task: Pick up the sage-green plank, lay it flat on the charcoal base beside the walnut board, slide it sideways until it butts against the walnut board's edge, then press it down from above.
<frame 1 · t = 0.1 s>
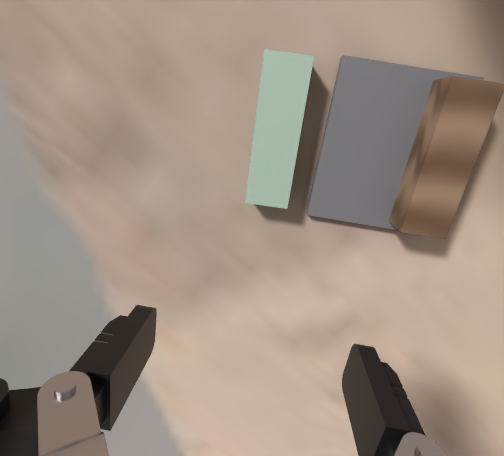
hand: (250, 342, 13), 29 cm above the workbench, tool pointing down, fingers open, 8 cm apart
plank: (276, 133, 38), on the workbench
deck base: (384, 151, 37), on the workbench
walnut board: (439, 161, 34), on the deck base, point 3 cm above the workbench
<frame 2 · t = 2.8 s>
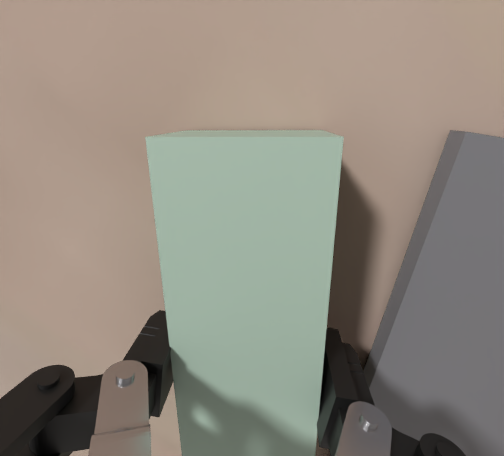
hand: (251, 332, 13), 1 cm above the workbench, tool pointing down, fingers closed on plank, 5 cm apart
plank: (254, 313, 14), on the workbench, touching gripper
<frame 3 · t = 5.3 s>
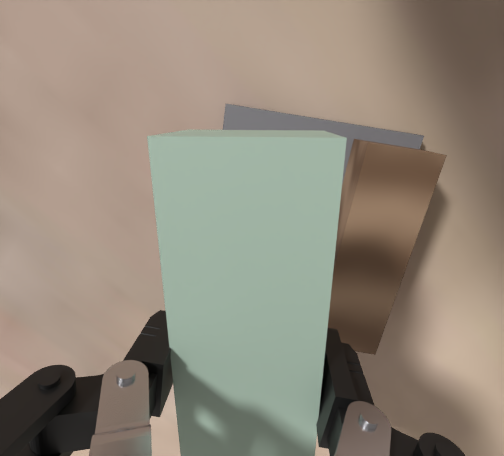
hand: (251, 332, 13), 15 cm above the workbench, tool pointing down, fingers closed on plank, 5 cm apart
plank: (254, 313, 14), point 14 cm above the workbench, touching gripper
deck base: (299, 226, 28), on the workbench
walnut board: (364, 250, 25), on the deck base, point 3 cm above the workbench
when the fingers open (3 cm above the workbench, at t = 8.0 s): plank stays where it is, resting on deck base.
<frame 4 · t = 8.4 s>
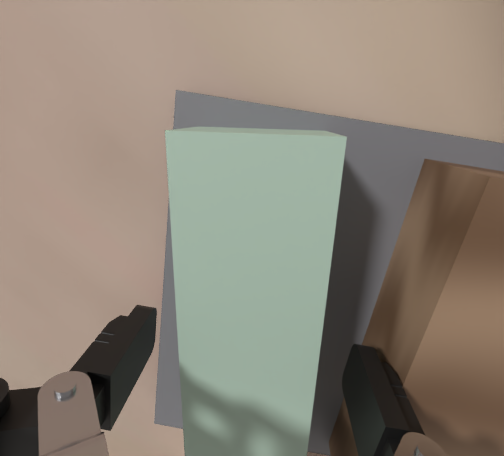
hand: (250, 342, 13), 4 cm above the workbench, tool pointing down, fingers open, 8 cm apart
plank: (254, 303, 15), point 1 cm above the workbench, touching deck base
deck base: (313, 305, 16), on the workbench
walnut board: (440, 366, 13), on the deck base, point 3 cm above the workbench
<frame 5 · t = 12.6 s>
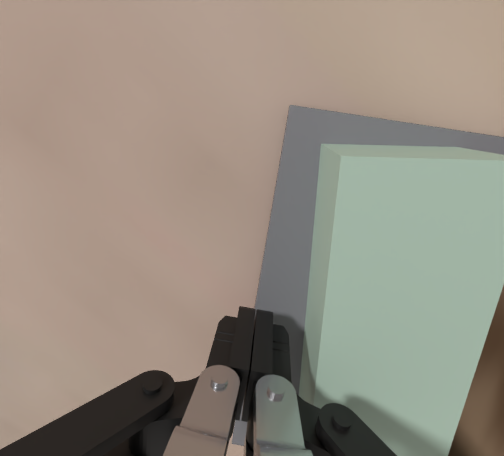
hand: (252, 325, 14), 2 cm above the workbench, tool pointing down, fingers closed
plank: (359, 324, 14), point 1 cm above the workbench, touching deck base
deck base: (407, 323, 15), on the workbench
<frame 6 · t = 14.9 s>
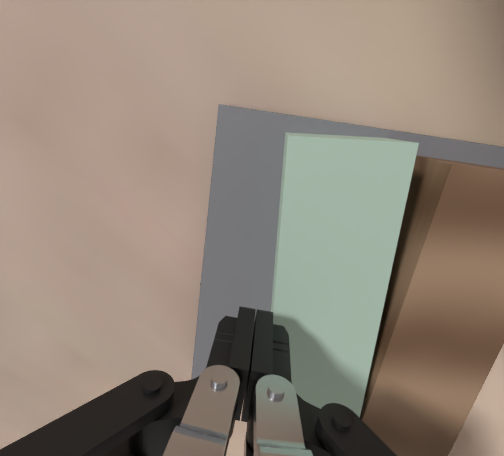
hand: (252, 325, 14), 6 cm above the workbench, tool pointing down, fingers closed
plank: (316, 276, 19), point 1 cm above the workbench, touching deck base
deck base: (324, 276, 20), on the workbench
walnut board: (426, 317, 17), on the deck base, point 3 cm above the workbench
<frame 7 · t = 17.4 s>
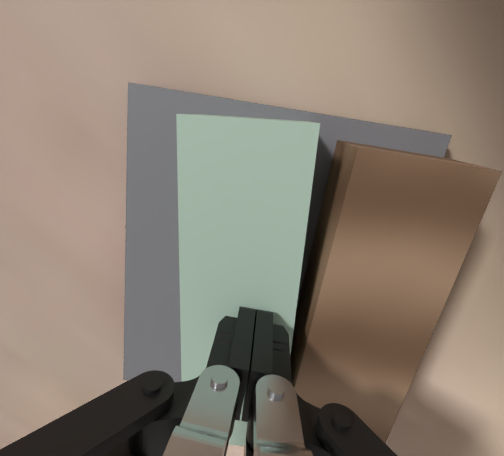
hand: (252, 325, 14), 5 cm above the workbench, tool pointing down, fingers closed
plank: (245, 271, 17), point 1 cm above the workbench, touching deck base, gripper
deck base: (258, 271, 18), on the workbench
walnut board: (354, 316, 15), on the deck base, point 3 cm above the workbench
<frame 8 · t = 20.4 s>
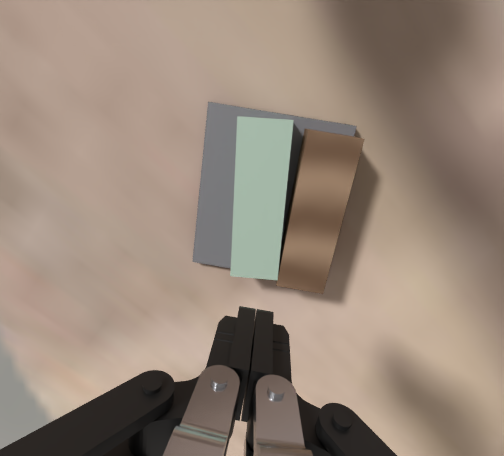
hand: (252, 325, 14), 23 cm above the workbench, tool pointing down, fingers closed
plank: (261, 195, 34), point 1 cm above the workbench, touching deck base
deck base: (267, 198, 35), on the workbench
walnut board: (314, 213, 32), on the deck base, point 3 cm above the workbench
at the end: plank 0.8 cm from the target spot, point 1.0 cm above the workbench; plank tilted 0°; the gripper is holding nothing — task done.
